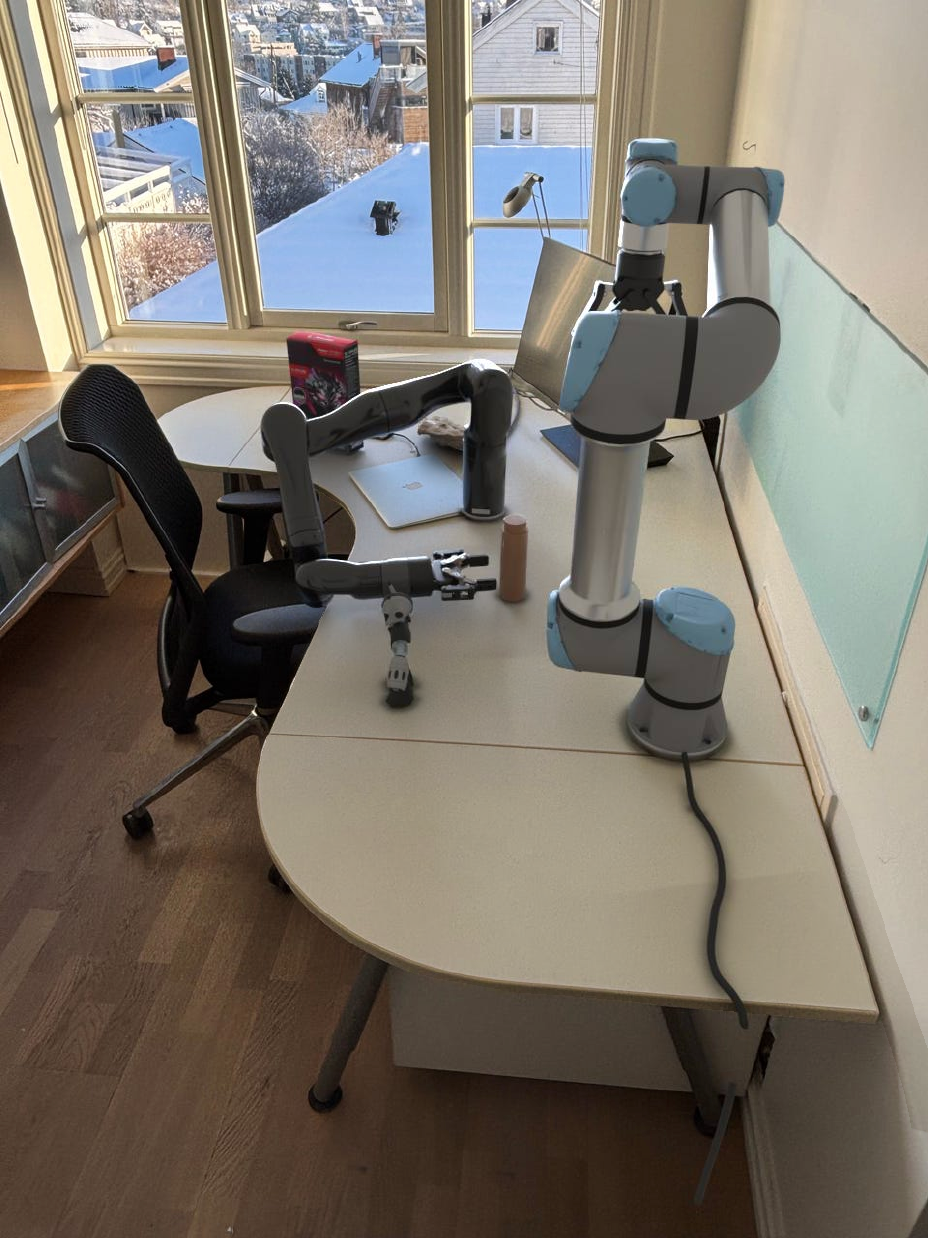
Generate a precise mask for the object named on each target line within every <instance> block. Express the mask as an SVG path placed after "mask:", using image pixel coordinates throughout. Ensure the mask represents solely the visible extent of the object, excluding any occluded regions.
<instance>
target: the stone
mask: <svg viewBox="0 0 928 1238" xmlns="http://www.w3.org/2000/svg"><path fill="white" fill-rule="evenodd" d="M417 424H418V425H417V431H416V433H417V435H418V436H421V435H423V436H424V435H427V436H428V437H430V439H431V440H434V441H437V443H438V445H440V446H441V447H448V446H449V447H451V448H453V449H456V450H460V451H462V452H463V429H464V426H463V425H461V424H457V423H455V421H452V420H449V418H448V417H443V416H440V415H439V416H438V415H433V416H431V417H425V418H424V419H423V420H421V421H420V422H419V423H417Z"/></svg>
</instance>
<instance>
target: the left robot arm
mask: <svg viewBox="0 0 928 1238" xmlns="http://www.w3.org/2000/svg"><path fill="white" fill-rule="evenodd" d="M511 371H513V370H512V366H510V367H508V369H507V372H506V371H505V370H504V369H502V368H501V367H499V365H497V364H496V363H495V362H493V361H490V360H488V359H484V358H477V359H473V360H469V361H467V362H463V363H462V364H461V363H460V364H458V365H456V366H453V367H451V368H448V369H445V370H443V371H440V372H437V373H434V374H430V375H426V376H421V377H417V378H416V377H415V378H412V379H409V380H404V381H401V382H396V383H391V384H387V385H383V386H379V387H374V388H372V389H368V390H366V391H363V392H361V394H359V395H358V396H356V397H354V398H353V399H351V400H349V401H348V402H347V403H345V404H344V405H342V406H341V407H339V408H338V409H336V410H334V411H333V412H331V413H329V414H327V415H324V416H321V417H318V418H314V419H310V420H307V418H306V416H305V414H304V413H303V412H302V410H301V409H299V408H298V407H297V406H295V405H293V403H291V402H278V403H275V404H272V405H270V406H269V407H267V409H266V410H265V411H264V413H263V414H262V417H261V419H260V424H259V432H260V441H261V449H262V452H263V454H264V456H265V457H266V458H267V459H268V460H270V461H271V462H273V463H274V466H275V470H276V474H277V479H278V488H279V494H280V496H279V497H280V505H281V514H282V520H283V527H284V532H285V536H286V542H287V546H288V550H289V552H290V554H291V559H292V563H293V565H292V566H293V571H294V585H295V588H296V592H297V596H298V598H299V599H300V601H301V602H302V603H303V604H304V605H306V606H307V607H310V608H312V609H321V608H325V607H326V606H328V605H329V604H330V603H331V602H332V601H333V599H334V597H335V596H350V597H351V598H353V600H356V601H357V600H358V601H367V600H380V599H381V600H383V599H384V598H385V597H386V596H387V595H389V594H391V591H390V588H389V586H388V582H389V581H390V582H391V584H392V586H393V588H394V590H395V592H402V593H405V594H407V595H408V596H409V597H410V598H411V599H414V598H427V597H428V598H429V597H432V596H433V593H434V591H436V592H437V591H438V592H440V598H441V599H440V601H442V602H457V601H458V602H459V601H473V600H475V595H476V594H477V593H478V592H492V591H496V590H497V587H498V581H497V579H496V578H495V577H489V578H476V579H473V578H469V577H467V575H465V574H464V573H462V570H465V569H466V568H468V567H469V568H478V567H487V566H489V565H490V556H489V555H488V554H484V553H483V554H481V553H480V554H469V553H466V552H465V549H463V548H455V549H444V550H435V551H433V552H432V560H431V557H430V556H428V555H419V556H404V557H392V558H386V559H381V560H368V561H349V560H340V559H333V558H329V556H328V551H327V537H326V533H325V527H324V523H323V519H322V513H321V510H320V505H319V502H318V497H317V493H316V488H315V485H314V480H313V476H312V470H311V463H310V458H313V457H316V456H318V455H321V454H324V453H326V452H329V451H330V450H331V449H334V448H337V447H340V446H344V445H348V444H352V443H356V442H360V441H363V442H364V441H366V440H370V439H373V438H378V437H381V436H382V437H383V436H386V435H391V434H395V433H397V432H401V431H406V430H407V429H410V428H412V427H414V426H416V425H417V424H419V422H422V420H423V419H425V418H428V416H429V415H431V414H432V413H434V412H436V411H437V410H439V409H442V408H446V407H450V406H453V405H458V404H467V403H469V404H470V417H469V418H470V420H469V421H468V422H467V423H466V424H464V426H463V427H464V429H463V451H462V506H463V510H462V509H461V513H462V515H463V516H464V517H465V518H467V519H469V520H471V521H476V522H492V521H496V520H499V519H501V518H502V517H503V516H504V515H505V513H506V510H505V509H506V506H505V503H506V501H505V500H506V499H505V498H506V479H507V477H506V476H507V445H508V444H507V443H508V434H509V433H510V432H511V430H512V429H513V427H514V425H515V424H516V422H517V420H518V417H519V414H520V399H519V395H518V393H517V390H516V387H515V386H514V384H513V380H512V378H511V376H510V373H511ZM514 397H515V401H516V411H515V415H514V418H513V407H514V406H513V405H514ZM512 419H513V420H512ZM463 593H466V594H463Z"/></svg>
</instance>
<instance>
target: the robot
mask: <svg viewBox="0 0 928 1238" xmlns="http://www.w3.org/2000/svg"><path fill="white" fill-rule="evenodd" d="M388 586H389V588H390V591H391V594H389V595H387V596H386V597H385V598H384V599H383V598H382V600H381V604H380V606H381V607H380V608H381V613H382V614H383V618H384V625H385V626H386V627H387V626H388V627H387V631H388V634H389V639H390V641H389V642H390V650H391V652H392V653H393V657H392V659H391V660H390V663H389V665H388V669H387V676H386V682H385V684H386V686H387V690H388V694H387V696H386V699H385V703H386V704H387V705H388V706H389V707H390V708H395V709H402V708H404V707H408V706H410V705H412V703H413V701H414V698H415V697H414V691H413V687H414V685H415V684H414V676H413V674H412V671H411V669H410V664H409V660H408V657H407V656H408V653H409V651H408V649H409V647H408V644H411V642H412V631H411V629H410V624H411V623H412V619H411V615H410V614H412V612H413V610H414V602H413V598H410V597H409V596H408V595H407V594H405V593H402V592H395V590H394V588H393V586H392V584H391V582H390V581H389V582H388Z"/></svg>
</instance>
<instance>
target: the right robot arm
mask: <svg viewBox="0 0 928 1238" xmlns="http://www.w3.org/2000/svg"><path fill="white" fill-rule="evenodd" d="M678 156H679V145H678V143H677V142H676V141H674V140H671V139H666V138H647V137H646V138H637V139H633V140H632V141H630V142H629V144H628V146H627V154H626V159H625V170H624V171H625V172H624V179H623V182H622V184H621V190H620V204H621V216H620V225H619V226H620V227H619V234H618V235H619V236H618V244H617V245H618V246H619V247H620V248H619V250H618V251H617V253H616V254H617V255H616V256H617V257H616V264H615V265H616V266H615V276H614V280H613V281H612V282H606V281H604V282H603V281H602V280H601V279H597V280H595V281H594V286H593V291H592V294H591V296H590V297H589V300H588V301H587V304H586V305H585V307H584V309H583V310H582V312H581V314H580V316H579V317H578V319H577V321H576V323H575V325H574V327H573V328H572V330H571V332H570V336H571V338H572V339H571V344H570V347H569V353H568V358H567V362H566V367H565V372H564V376H563V381H562V387H561V391H560V397H559V401H558V402H559V403H558V408H559V409H560V410H561V411H564V412H565V413H570V418H569V423H570V426H571V428H572V429H573V431H574V432H575V433H576V434H577V435H578V436H579V437H580V451H579V460H578V461H579V463H578V473H577V474H578V475H577V487H576V489H577V490H576V499H575V502H576V503H575V514H574V525H573V539H572V553H571V566H570V574H569V575H567V576H566V577H565V578H564V579H563V580H562V582H561V583H560V585H559V588H558V589H554V590H552V591H551V592H550V594H549V596H548V601H547V608H546V609H547V610H546V645H547V653H548V657H549V659H550V661H551V663H552V664H553V665H554V666H556V667H558V668H560V669H564V670H570V671H574V672H578V673H582V672H583V673H593V674H602V675H612V676H620V677H629V678H638V679H643V682H642V684H641V685H640V688H639V689H638V691H637V692H636V694H635V695H634V697H633V699H632V701H631V702H630V704H629V705H628V707H627V711H626V719H625V728H626V732H627V734H628V736H629V738H630V739H631V741H632V742H634V744H636V745H637V746H638V747H639V748H640V749H641V750H643V751H645V752H646V753H648V754H650V755H651V756H654V757H656V758H659V759H662V760H666V761H670V762H675V763H682V767H683V772H684V778H685V786H686V793H687V798H688V801H689V804H690V807H691V809H692V810H693V812H694V814H695V816H696V818H697V819H698V821H699V822H700V823H701V824H702V826H703V828H705V830H706V832H707V833H708V835H709V837H710V839H711V843H712V845H713V847H714V851H715V855H716V860H717V868H718V870H717V871H718V883H717V888H716V892H715V896H714V899H713V902H712V906H711V910H710V915H709V923H708V929H707V930H708V931H707V938H706V955H707V961H708V965H709V968H710V971H711V974H712V976H713V978H714V979H715V981H716V983H717V984H718V985H719V987H720V988H721V989H722V990H723V991H724V992H725V994H726V995H727V996H728V998H729V999H730V1000H731V1002H732V1003H733V1006H734V1007H735V1010H736V1012H737V1017H738V1022H739V1026H740V1027H741V1028H742V1029H743V1030H748V1029H749V1026H750V1025H749V1019H748V1014H747V1011H746V1007H745V1004H744V1003H743V1000H742V999H741V997H740V996H739V994H738V993H737V992H736V990H735V989H734V987H733V986H732V985H731V984H730V983H729V982H728V981H727V979H726V978H725V976H724V975H723V974H722V972H721V970H720V968H719V965H718V961H717V957H716V939H717V931H718V930H717V929H718V921H719V915H720V910H721V906H722V902H723V899H724V896H725V892H726V887H727V868H726V867H727V866H726V860H725V855H724V851H723V848H722V847H723V846H722V844H721V841H720V838H719V836H718V834H717V832H716V830H715V828H714V827H713V825H712V824H711V822H710V821H709V820H708V818H707V817H706V816H705V814H704V813H703V811H702V809H701V808H700V806H699V803H698V802H697V799H696V796H695V791H694V782H693V775H692V771H691V765H690V763H694V762H700V761H703V760H706V759H709V758H711V757H714V755H716V754H718V752H720V751H721V750H722V748H723V747H724V744H725V743H726V740H727V739H726V738H727V734H728V721H727V716H726V712H725V708H724V707H725V706H724V701H723V692H724V686H725V682H726V678H727V677H726V676H727V672H728V668H729V663H730V658H731V654H732V651H733V649H734V646H735V631H736V620H735V617H734V614H733V612H732V610H731V609H730V607H729V606H728V605H727V604H726V603H724V602H723V601H722V600H720V599H719V598H718V597H717V596H715V595H713V594H711V593H709V592H707V591H704V590H702V589H698V588H695V587H688V586H671V587H669V588H668V587H667V588H664V589H662V590H661V591H659V592H658V593H657V595H656V597H655V598H654V599H649V598H641V597H642V596H641V591H640V588H639V587H638V585H637V584H636V582H635V581H634V580H633V577H634V568H635V559H636V553H637V544H638V536H639V530H640V521H641V514H642V507H643V499H644V493H645V492H644V491H645V485H646V476H647V471H648V470H647V469H648V461H649V454H650V446H651V442H653V441H655V440H657V439H658V438H659V437H660V436H661V435H662V434H663V433H664V432H665V428H666V423H667V419H669V420H684V421H685V420H687V421H701V420H709V419H711V418H715V417H719V416H721V415H724V414H726V413H728V412H730V411H732V410H734V409H735V408H737V407H738V406H739V405H741V404H743V403H745V401H747V400H748V399H749V398H750V397H751V396H752V395H753V394H754V393H756V391H757V390H758V389H759V388H760V386H761V385H763V383H765V381H766V379H767V377H768V376H769V374H771V371H772V369H773V368H774V366H775V363H776V361H777V358H778V355H779V352H780V348H781V342H782V337H781V336H782V335H781V334H782V333H781V332H782V331H781V321H780V317H779V315H778V313H777V311H776V309H775V308H774V307H773V306H772V305H771V303H772V302H771V275H770V274H771V273H770V243H769V242H770V241H769V240H770V239H769V228H771V227H773V226H775V225H776V224H777V222H778V220H779V219H780V214H781V210H782V205H783V201H784V194H785V193H784V192H785V175H784V173H783V172H782V171H781V170H779V169H776V168H775V169H774V168H765V167H761V166H753V167H752V166H751V167H748V166H747V167H745V166H709V165H688V164H678V163H679V162H678V158H679V157H678ZM670 224H682V225H684V224H685V225H705V226H709V243H708V244H709V247H708V248H709V249H708V272H707V295H706V296H707V297H706V299H707V300H706V303H707V304H706V311H705V312H704V313H703V315H702V316H691V315H689V314H688V312H687V309H686V306H685V303H684V300H683V297H682V292H683V291H682V289H683V286H682V283H681V282H680V281H679V280H678V279H676V278H673V279H671V280H670V281H664V271H665V264H666V256H667V255H666V253H665V251H664V250H665V249H666V248H667V247H668V239H669V230H670ZM664 291H666V294H667V296H669V297H670V299H671V302H672V305H673V308H674V310H675V313H676V315H675V314H667V313H666V312H665V310H664V308H663V307H662V306H661V304H660V303H659V301H658V299H659V298H660V297H661V295H662V294H663V293H664ZM610 292H612V294H613V295H614V298H613V299H612V300H611V301H610V302H609V303H608V305H607V307H606V308H605V309H604V310H602V311H599V310H598V309H599V307H601V306H600V305H601V304H602V302H603V299H604V298H605V297H607V296H608V294H609V293H610ZM650 309H652V311H653V313H647V310H650ZM623 310H625V311H623ZM635 311H639V312H635ZM644 312H645V313H644ZM727 1084H728V1085H727V1089H726V1093H725V1097H724V1102H723V1105H722V1110H721V1114H720V1116H719V1121H718V1124H717V1127H716V1130H715V1134H714V1138H713V1140H712V1143H711V1146H710V1149H709V1152H708V1155H707V1158H706V1161H705V1164H704V1166H703V1170H702V1172H701V1176H700V1179H699V1182H698V1185H697V1189H696V1193H695V1196H694V1199H693V1202H694V1204H695V1205H697V1206H700V1205H702V1202H703V1199H704V1196H705V1193H706V1189H707V1187H708V1183H709V1180H710V1176H711V1173H712V1171H713V1167H714V1165H715V1162H716V1159H717V1157H718V1154H719V1150H720V1147H721V1145H722V1141H723V1139H724V1136H725V1132H726V1129H727V1126H728V1123H729V1119H730V1115H731V1112H732V1109H733V1104H734V1100H735V1096H736V1092H737V1087H738V1083H737V1082H731V1081H728V1083H727Z"/></svg>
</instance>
